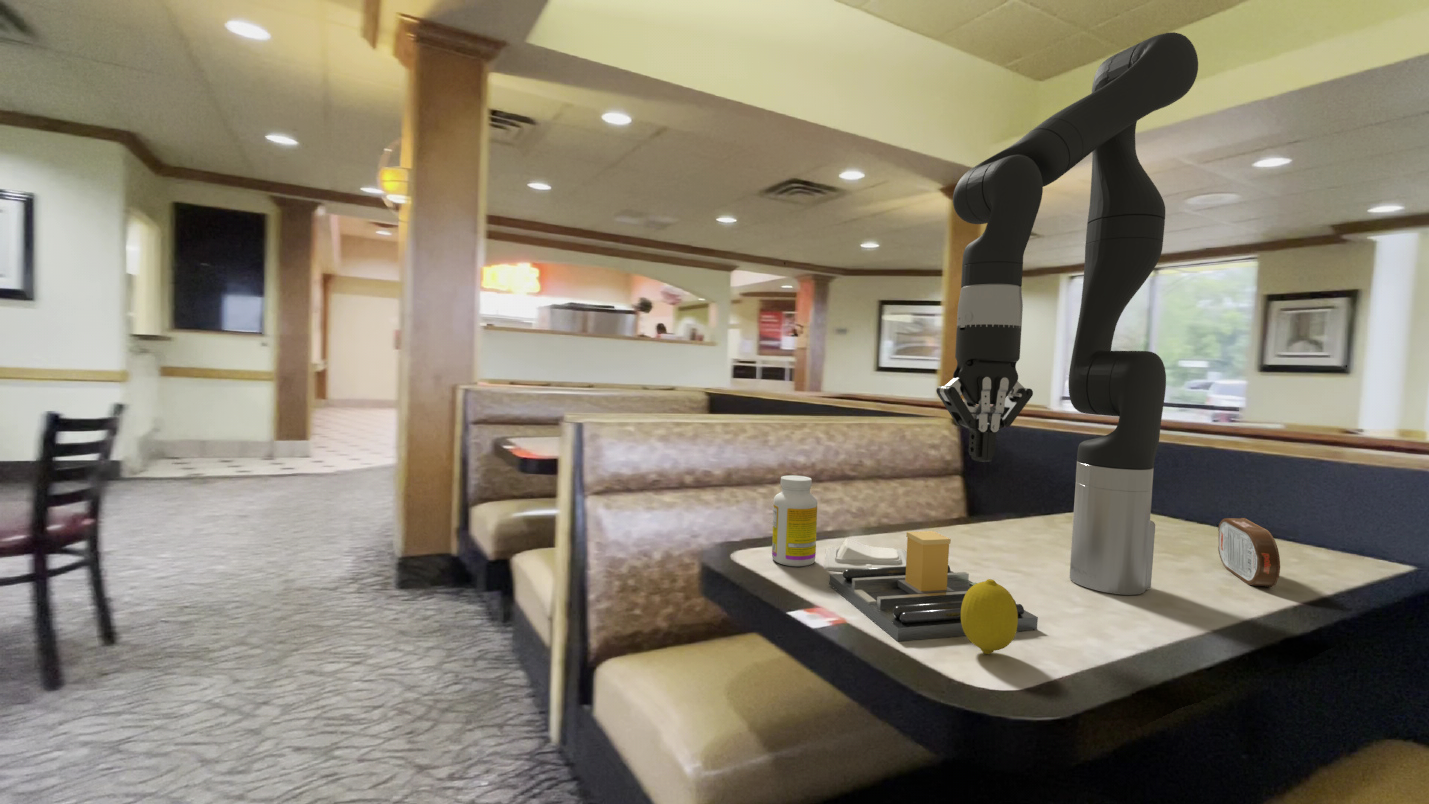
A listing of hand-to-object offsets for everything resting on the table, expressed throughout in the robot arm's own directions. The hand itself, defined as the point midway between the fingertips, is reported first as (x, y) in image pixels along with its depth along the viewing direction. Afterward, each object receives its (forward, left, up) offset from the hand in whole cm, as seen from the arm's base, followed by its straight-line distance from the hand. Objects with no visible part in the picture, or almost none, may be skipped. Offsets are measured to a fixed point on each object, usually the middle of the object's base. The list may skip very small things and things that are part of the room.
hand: (980, 460), depth 81 cm
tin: (-49, -3, -19) cm, 52 cm away
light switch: (+6, -18, -19) cm, 27 cm away
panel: (+7, 0, -18) cm, 20 cm away
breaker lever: (+7, 0, -17) cm, 18 cm away
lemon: (+8, +13, -19) cm, 24 cm away
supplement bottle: (+17, -20, -19) cm, 32 cm away
